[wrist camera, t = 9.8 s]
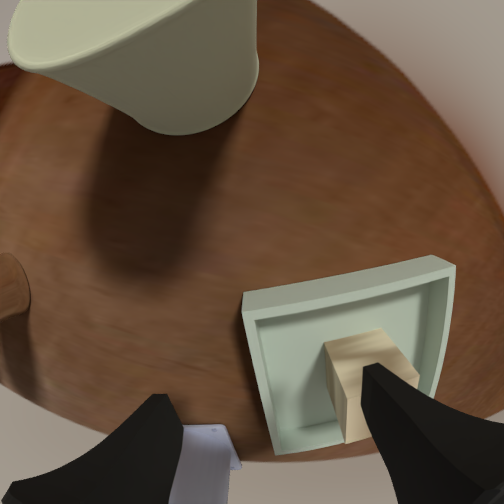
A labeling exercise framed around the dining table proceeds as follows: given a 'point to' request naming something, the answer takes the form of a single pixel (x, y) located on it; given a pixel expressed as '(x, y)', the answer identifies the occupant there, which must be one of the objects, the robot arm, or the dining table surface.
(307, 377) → the bin
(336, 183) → the dining table surface
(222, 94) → the can
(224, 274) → the dining table surface
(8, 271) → the beer glass
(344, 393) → the birch block
